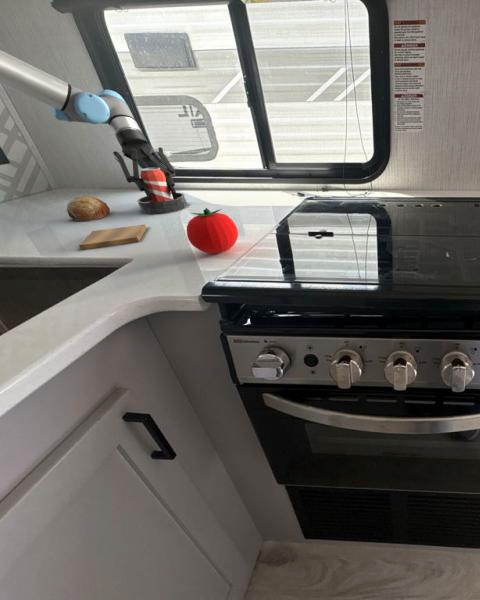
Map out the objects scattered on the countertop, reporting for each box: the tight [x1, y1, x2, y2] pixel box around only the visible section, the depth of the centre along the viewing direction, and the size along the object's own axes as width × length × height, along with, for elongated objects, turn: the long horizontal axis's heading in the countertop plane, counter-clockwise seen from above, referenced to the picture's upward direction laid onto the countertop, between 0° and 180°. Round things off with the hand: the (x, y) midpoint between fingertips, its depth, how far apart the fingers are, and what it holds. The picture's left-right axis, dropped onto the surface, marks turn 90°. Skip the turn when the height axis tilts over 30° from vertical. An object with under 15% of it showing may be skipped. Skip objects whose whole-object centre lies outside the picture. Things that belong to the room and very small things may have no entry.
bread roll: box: [66, 195, 111, 222], centre depth 102 cm, size 10×10×8 cm
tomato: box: [186, 207, 239, 255], centre depth 76 cm, size 10×10×10 cm
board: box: [78, 224, 147, 250], centre depth 87 cm, size 12×11×1 cm
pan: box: [136, 192, 188, 215], centre depth 110 cm, size 13×13×4 cm
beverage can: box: [139, 166, 173, 202], centre depth 107 cm, size 6×6×12 cm
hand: (162, 195), depth 106 cm, fingers closed on beverage can, 6 cm apart
